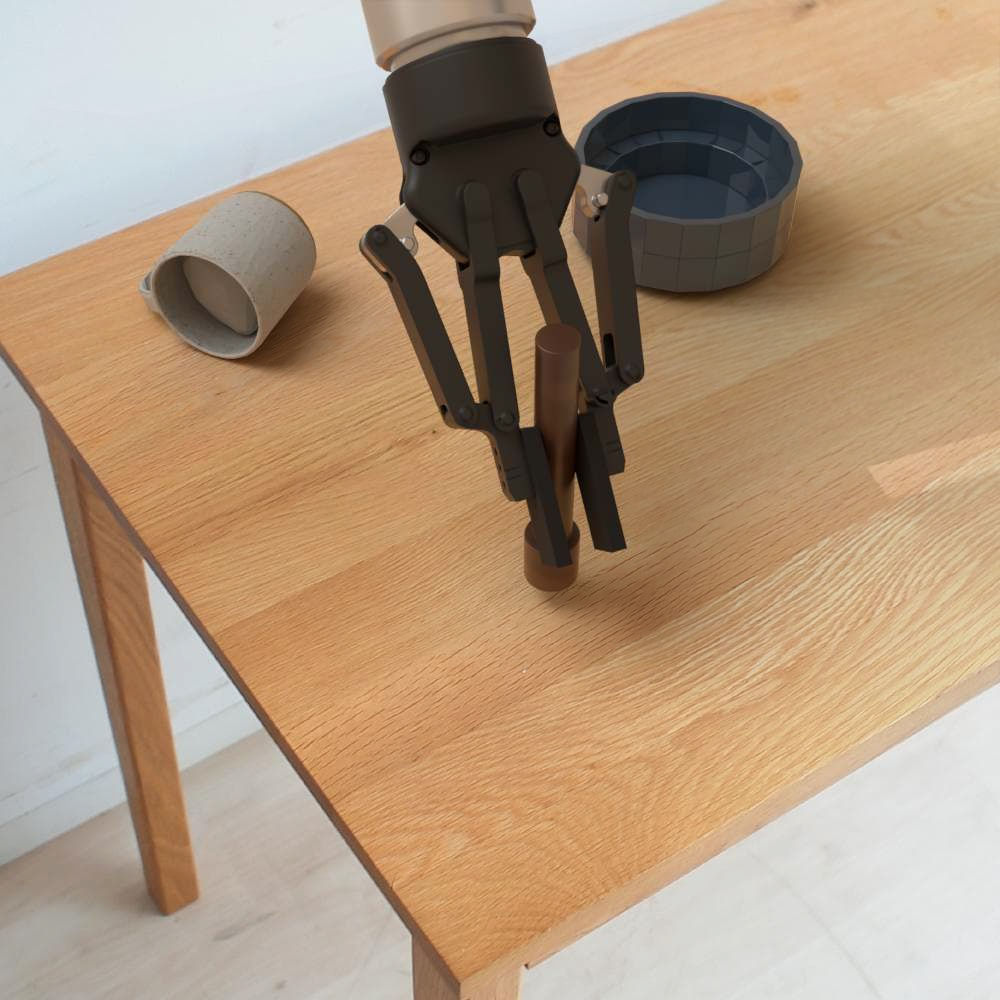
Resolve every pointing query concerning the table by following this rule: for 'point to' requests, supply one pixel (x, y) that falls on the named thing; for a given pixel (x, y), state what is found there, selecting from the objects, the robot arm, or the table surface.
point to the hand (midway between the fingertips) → (583, 555)
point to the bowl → (696, 187)
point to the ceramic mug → (232, 274)
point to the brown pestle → (556, 444)
